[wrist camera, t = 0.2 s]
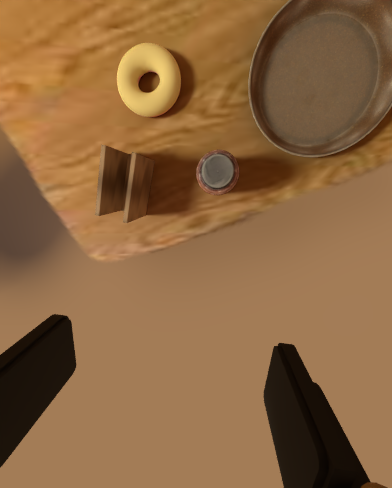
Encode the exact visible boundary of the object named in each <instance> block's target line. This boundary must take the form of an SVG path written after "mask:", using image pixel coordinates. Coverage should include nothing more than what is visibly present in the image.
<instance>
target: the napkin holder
mask: <svg viewBox="0 0 392 488" xmlns="http://www.w3.org/2000/svg"><path fill="white" fill-rule="evenodd" d="M154 163H155V161H154V160H151V159H149V158H147V157H144V156H142V155H140V154H137V153H134V152H132V155H130V154H127V153H124V152H122V151H119V150H116V149H114V148H111V147H108V146H106V145H102V144H101V155H100V167H99V178H98V189H97V201H96V212H95V215H97V216H101V215H105V214H109V213H113V212H117V211H124V218H123V222H124V223H128V222H131V221H133V220H136V219H138V218H141V217H143V216H146V211H147V205H148V199H149V193H150V187H151V181H152V175H153V169H154Z"/></svg>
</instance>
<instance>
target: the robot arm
mask: <svg viewBox="0 0 392 488" xmlns="http://www.w3.org/2000/svg"><path fill="white" fill-rule="evenodd" d="M75 368H76V358H75V350H74V341H73V333H72V324H71V321H70V320H69V318H68V317H67V316H64V315H56V314H54V315H52V316H50V317H49V318H47V319H46V320H45V321H44V322H42V323H41V324H40V325H38V326H37V327H36V328H35V329H33V330H32V331H31V332H29V333H28V334H27V335H26V336H24V337H23V338H22V339H20V340H19V341H18V342H16V343H15V344H14V345H13V346H11V347H10V348H9V349H7V350H6V351H5V352H3V353H2V354H1V355H0V467H1V466H2V465H3V464H4V463H5V461H6V460H7V459H8V457H9V456H10V455H11V454H12V452H13V451H14V450H15V448H16V447H17V446H18V444H19V443H20V442H21V441H22V439H23V438H24V437H25V435H26V434H27V433H28V431H29V430H30V429H31V428H32V426H33V425H34V424H35V422H36V421H37V420H38V418H39V417H40V416H41V414H42V413H43V412H44V411H45V409H46V408H47V407H48V406H49V404H50V403H51V402H52V400H53V399H54V398H55V396H56V395H57V394H58V393H59V391H60V390H61V389H62V387H63V386H64V385H65V383H66V382H67V381H68V380H69V378H70V377H71V376H72V374H73V372H74V371H75ZM264 403H265V407H266V411H267V416H268V420H269V424H270V429H271V433H272V437H273V442H274V445H275V450H276V455H277V459H278V463H279V467H280V472H281V476H282V481H283V485H284V488H387V487H385V486H383V485H380V484H378V483H372V482H370V480H369V478H368V476H367V474H366V472H365V471H364V469H363V467H362V465H361V463H360V461H359V459H358V458H357V456H356V454H355V452H354V450H353V448H352V446H351V445H350V442H349V441H348V438H347V437H346V435H345V433H344V431H343V429H342V427H341V425H340V423H339V422H338V420H337V418H336V416H335V414H334V412H333V410H332V408H331V407H330V405H329V403H328V401H327V399H326V397H325V395H324V393H323V391H322V390H321V388H320V387H319V385H318V384H317V383H314V382H313V381H312V379H311V377H310V376H309V373H308V372H307V370H306V368H305V366H304V364H303V362H302V360H301V358H300V356H299V354H298V352H297V350H296V348H295V346H294V345H292V344H284V343H279V344H278V346H274V349H273V353H272V357H271V362H270V366H269V371H268V376H267V380H266V385H265V389H264Z"/></svg>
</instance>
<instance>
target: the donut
mask: <svg viewBox="0 0 392 488" xmlns="http://www.w3.org/2000/svg"><path fill="white" fill-rule="evenodd" d="M147 72H155V73H157V74H158V75H159V77H160V84H159V86H158V87H157V89H156V90H154V91H153V92H150V93H145V92H142V91H141V90H140V89H139V86H138V83H139V80H140V78H141V77H142V76H143V75H144V74H145V73H147ZM117 86H118V90H119V93H120V96H121V98H122V100H123V101H124V103H125V104H126V105H127V107H128V108H129V109H130V110H132V111H133V112H135V113H136V114H138V115H141V116H144V117H156V116H159V115H162V114H164V113H165V112H167V111H168V110H169V109H170V108H171V107H172V106H173V105H174V103H175V102H176V100H177V98H178V96H179V92H180V88H181V75H180V70H179V67H178V64H177V62H176V60H175V59H174V57H173V56H172V54H171V53H170V52H169V51H168V50H166V49H165V48H164V47H162V46H160V45H157V44H154V43H142V44H139V45H136V46H134V47H133V48H131V49H130V50H129V51H128V52H127V53H126V54H125V55H124V57H123V58H122V60H121V62H120V64H119V67H118V72H117Z"/></svg>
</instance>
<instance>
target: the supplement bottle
mask: <svg viewBox="0 0 392 488" xmlns="http://www.w3.org/2000/svg"><path fill="white" fill-rule="evenodd" d="M196 176H197V181H198V183H199V185H200V187H201V188H202V189H203V190H204V191H205V192H207V193H209V194H212V195H222V194H225V193H227V192H229V191H230V190H231V189H232V188H233V187H234V186H235V185H236V183H237V181H238V178H239V166H238V163H237V160H236V159H235V158H234V156H233V155H231V154H230V153H229V152H227V151H224V150H214V151H211V152H209V153H207V154H206V155H204V156H203V157H202V159H201V160H200V162H199V164H198V166H197V171H196Z"/></svg>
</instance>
